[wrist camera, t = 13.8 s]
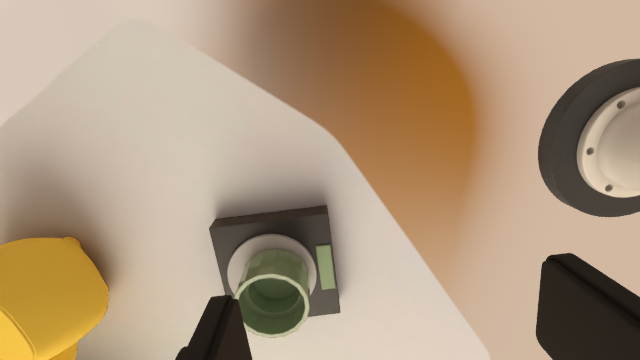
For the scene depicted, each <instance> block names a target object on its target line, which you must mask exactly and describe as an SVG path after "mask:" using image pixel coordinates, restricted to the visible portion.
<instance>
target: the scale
mask: <svg viewBox="0 0 640 360" xmlns="http://www.w3.org/2000/svg"><path fill="white" fill-rule="evenodd" d="M209 230H210V234H211V238H212V242H213V246H214V250H215V254H216V258H217V262H218V266H219V270H220V274H221V278H222V283H223V287H224V291H225V295H231V296H232V298H233V299H234V297H235V293H236V290H237V287H238V285H239V282H240V279H241V276H242V274H243V271H244V268H245V266H246V264H247V263H248V262H249V261H250V259H251V258H252V257H253V256H255V255H257V254H259V253H261V252H262V251H265V250H272V249H281V250H285V251H289V252H292V253H293V254H295V255H296V256H298V257H299V258H301V259H302V261H303V262H304V264H305V265H306V267H307V268H308V271H309V277H310V309H309V313H308V316H307V317H311V316H319V315H327V314H335V313H340V305H339V297H338V289H337V281H336V273H335V265H334V258H333V250H332V242H331V234H330V226H329V218H328V210H327V205H326V206H318V207H310V208H302V209H294V210H286V211H278V212H270V213H262V214H254V215H246V216H238V217H230V218H222V219H215V221H214V222H213V223H212V225H211V226H210V228H209Z"/></svg>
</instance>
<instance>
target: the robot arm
mask: <svg viewBox="0 0 640 360" xmlns="http://www.w3.org/2000/svg"><path fill="white" fill-rule="evenodd" d="M577 165H578V169H579V172H580V174H581V176H582V178H583V180H584V181H585V182H586V183H587V184H588V185H589V186H590V187H592V188H593V189H595V190H596V191H598V192H601V193H603V194H606V195H609V196H613V197H623V198H626V197H634V196H638V195H640V87H635V88H632V89H629V90H626V91H623V92H621V93H619V94H617V95H615V96H614V97H612V98H611V99H609V100H608V101H607V102H605V103H604V104H603V105H602V106H601V107H600V108H599V109H598V110H597V111H596V112H595V113H594V114H593V115H592V117H591V118H590V119H589V120H588V122H587V124H586V125H585V127H584V129H583V131H582V133H581V136H580V139H579V142H578V147H577ZM536 337H537V340H538V342H539V344H540V345H541V347H542V348H543V349H544V350H545V351H546V352H547V353H548V355H549V356H550V357H551V358H552V359H553V360H640V297H639V296H637V295H636V294H634V293H632V292H631V291H629V290H628V289H626V288H625V287H623V286H621V285H620V284H619V283H617V282H616V281H614V280H612V279H611V278H609V277H608V276H606V275H605V274H603V273H602V272H600V271H599V270H597V269H596V268H594V267H593V266H591V265H589V264H588V263H586V262H585V261H583V260H582V259H580V258H579V257H577V256H576V255H574V254H572V253H566V254H558V255H550V256H548V257H547V259H546V261H544V262H543V263H542V269H541V280H540V291H539V302H538V314H537V325H536ZM175 360H252V356H251V352H250V348H249V343H248V339H247V335H246V330H245V326H244V322H243V318H242V313H241V309H240V305H239V301H238V299H233V298H232V296H231V295H224V296H216V297H211V298H210V300H209V302H208V304H207V306H206V308H205V310H204V313H203V315H202V317H201V319H200V321H199V323H198V325H197V328H196V330H195V332H194V334H193V336H192V338H191V340H190V342H189V345H188V346H187V347H183V348H182V349H181V350H180V352H179V353H178V355H177V357H176V359H175Z"/></svg>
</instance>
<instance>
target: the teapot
mask: <svg viewBox="0 0 640 360" xmlns="http://www.w3.org/2000/svg"><path fill="white" fill-rule="evenodd" d="M108 291H109V288H108V285H107V284H106V283H105V282H104V280H103V278H102V276H101V275H100V273H99V271H98V270H97V268H96V267H95V265H94V264H93V262H92V261H91V260H90V258H89V257H88V256H87V255H86V253H85V252H84V251H83V250H82V249H81V244H80V243H79V241H77V240H76V239H75V238H72V237H64V238H62V239H59V238H28V239H21V240H16V241H12V242H9V243H5V244H2V245H0V360H75V358H76V353H77V347H78V340H80V339H81V338H82V337H84V336H85V335H86V334H87V333H88V332H89V331H91V330H92V329H93V328H94V327H95V326H96V325H97V324H98V323H99V322H100V321H101V320H102V318H103V317H104V315H105V313H106V311H107V308H108Z"/></svg>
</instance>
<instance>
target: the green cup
mask: <svg viewBox="0 0 640 360" xmlns="http://www.w3.org/2000/svg"><path fill="white" fill-rule="evenodd" d="M234 299H238V301H239V305H240V309H241V313H242V318H243V322H244V326H245V329H247V330H248V331H250V332H252V333H253V334H255V335H258V336H263V337H268V338H274V337H283V336H286V335H288V334H290V333H292V332H294V331H296V330H298V329H299V328H300V326H301V325H302V324H303V323H304V322H305V321H306V319H307V316H308V313H309V309H310V277H309V271H308V268H307V267H306V265H305V264H304V262H303V261H302V259H301V258H299V257H298V256H296V255H295V254H293V253H292V252H289V251H285V250H281V249H272V250H265V251H262V252H261V253H259V254H257V255H255V256H253V257H252V258H251V259H250V261H249V262H248V263H247V264H246V266H245V268H244V271H243V274H242V276H241V279H240V282H239V285H238V287H237V290H236V293H235V297H234Z"/></svg>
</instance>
